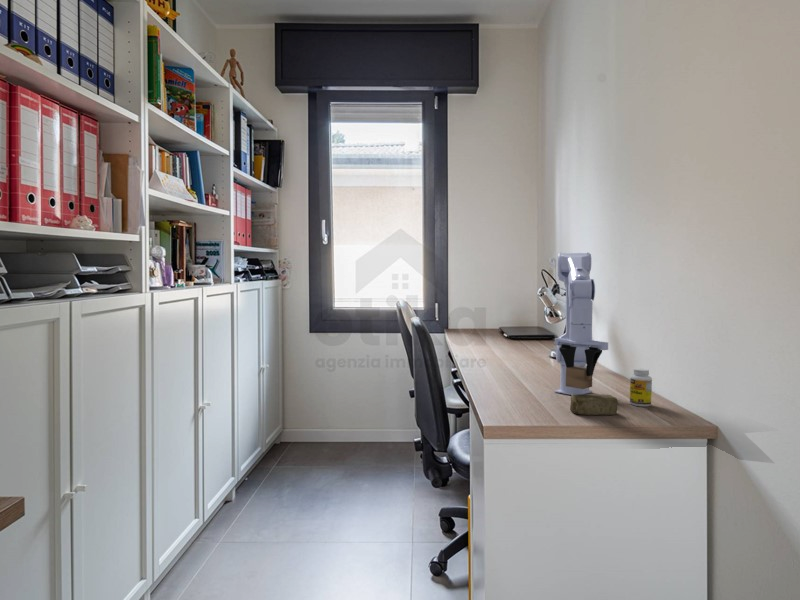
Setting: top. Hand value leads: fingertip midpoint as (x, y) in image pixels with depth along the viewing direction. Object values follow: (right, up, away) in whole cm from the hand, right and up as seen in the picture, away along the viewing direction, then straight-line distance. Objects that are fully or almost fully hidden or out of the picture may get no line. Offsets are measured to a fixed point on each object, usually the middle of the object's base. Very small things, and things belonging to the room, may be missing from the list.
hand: (579, 374), depth 138 cm
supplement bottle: (+20, -10, +7) cm, 24 cm away
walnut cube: (0, -3, 0) cm, 3 cm away
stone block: (+3, -11, -2) cm, 11 cm away
